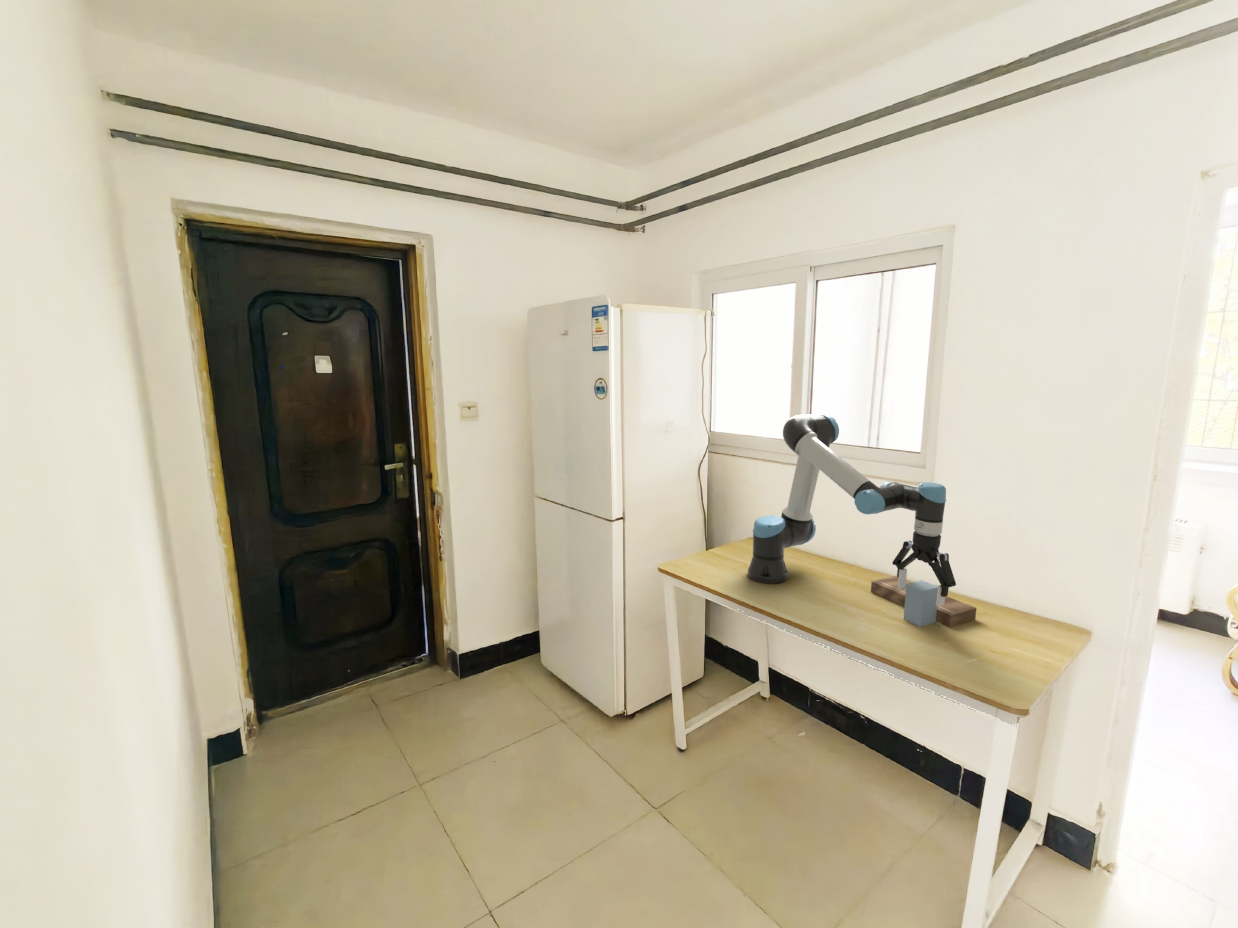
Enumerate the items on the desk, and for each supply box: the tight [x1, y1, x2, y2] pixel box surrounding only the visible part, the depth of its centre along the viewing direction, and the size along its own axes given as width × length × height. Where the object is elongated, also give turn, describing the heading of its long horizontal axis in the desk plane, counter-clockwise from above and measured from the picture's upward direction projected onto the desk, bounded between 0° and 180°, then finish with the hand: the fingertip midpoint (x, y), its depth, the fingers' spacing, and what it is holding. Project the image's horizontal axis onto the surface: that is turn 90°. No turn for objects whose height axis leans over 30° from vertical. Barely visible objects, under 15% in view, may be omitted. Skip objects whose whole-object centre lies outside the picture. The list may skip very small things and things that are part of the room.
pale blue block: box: [903, 580, 938, 628], centre depth 170 cm, size 6×11×12 cm, turn 113°
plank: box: [870, 575, 977, 628], centre depth 181 cm, size 30×12×4 cm, turn 23°
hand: (919, 596), depth 169 cm, fingers open, 13 cm apart
